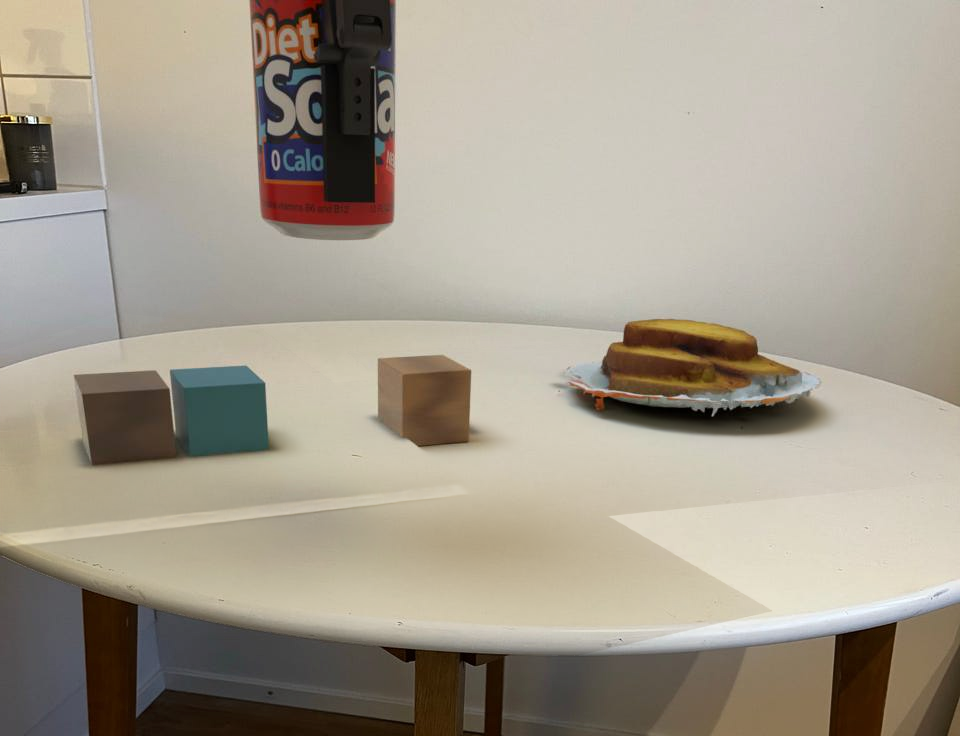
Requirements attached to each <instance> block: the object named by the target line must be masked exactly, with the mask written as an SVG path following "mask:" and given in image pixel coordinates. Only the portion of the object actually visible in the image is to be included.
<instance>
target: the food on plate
mask: <svg viewBox="0 0 960 736" xmlns="http://www.w3.org/2000/svg"><path fill="white" fill-rule="evenodd" d="M571 372H572V373H571ZM563 374H564V375H565V377H566V378H567V380H569V381H568V382H567V384H569V385H570V386H572V387H576V388H578V389H579V391H583V395H585V394H586V393H588V394H592V398H594V397H595V396H596V397H600V398H595V400H596V403H595V404H594V406H595V409H596V410H598V411H601V410H604V409H605V406H604V405H605V404H604V398H606V397H607V398H611V399H614V400H617V401H620V402H623V403H629V404H634V405H635V404H636V405H644V406H650V407H653V408H655V407H659V408H690V409H692V410H693V411H694V412H698V410H700V411H701V412H702V413H705V409H712V412H711V417H714V416H715V414H717V412H718V409H723V410H724V411H726V410H727V409H728V408H729V410H730V411H732V410H733V409H735V408H737V407H741V408H746V407H749V408H750V409H753V407H755V408H756V407H757V408H758V407H759V406H762V405H765V406H771V407H774V405H775V404H776V403H780V402H785V403H787V404H792V403H794V402H795V400H796V399H797V400H799V399H801V398H802V397H805V398H809V397H810V396H811V391H813V390H814V389H818V388H819V387H820V386H821V383H822V381H821V380H820V378H819V377H817V376H816V375H815V374H813V375H812V374H810V373H807V372H805V371H802V370H799V369H797V368H794V367H791V366H788V365H785V364H783V363H780V362H778V361H776V360H772V359H770V358H768V357H765V356H764V355H761V354H759V347H758V341H757V338H756V337H755V336H754V335H752V334H749V333H748V332H747V331H745V330H743V329H740V328H739V329H738V328H735V327H731V326H726V325H722V324H718V323H713V322H711V323H709V322H705V321H697V320H691V319H675V318H652V319H642V320H634V321H633V320H632V321H629V322H627V323H626V324H625V325H624V328H623V337H622V341H618V342H612V343H611V344H609V346H608V348H607V351H606V354H605V355H604V356H603V358H602V360H597V361H593V362H588V363H587V362H586V363H582V364H577V365H574V366H568V367H567V368H566V369H565V372H564V373H563ZM574 374H575V375H576V376H575V375H574ZM577 376H580V378H579V377H577ZM557 392H558V393H560V392H561V390H560V389H559V390H558V391H557ZM741 429H743V426H741Z"/></svg>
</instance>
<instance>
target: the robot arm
mask: <svg viewBox="0 0 960 736" xmlns="http://www.w3.org/2000/svg"><path fill="white" fill-rule="evenodd" d="M321 2H322V16H323V23H324V31H325V39H326V44H323V43H319V46H318V47H317V49H316V51H315V54H314V60H315V62H317V63H330V64H337V66H329V65H321V94H322V137H323V179H324V201H326V202H362V203H375V69H374V68H371V66H375V67H376V66H377V64H378V61H379V57H380V50H381V51H388V50H389V49H390V47H391V41H392V34H391V14H390V0H321Z"/></svg>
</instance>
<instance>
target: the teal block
mask: <svg viewBox="0 0 960 736" xmlns="http://www.w3.org/2000/svg"><path fill="white" fill-rule="evenodd" d="M169 376H170V387H171V388H170V389H171V398H172V405H173V407H172V408H173V416H174V418H173V420H174V426H175V427H174V428H175V429H174V430H175V437H177V439H178V440H179V442H180V443H181V445H182V447H183V448H184V449H185V451H186V452H187V454H188V455H189V457H200V456H211V455H213V456H214V455H223V454H234V453H245V452H246V453H247V452H257V451H268V450H270V444H269V441H270V440H269V425H268V424H269V423H268V405H267V390H266V389H267V388H266V382H265V381H264V380H263V379H262V378H260V377H259V376H258V375H257V374H256V373H255V372H254V371H253V370H252V369H251V368H250V367H249V366H248V365H245V364H244V365H229V366H228V365H227V366H211V367H210V366H209V367H194V368H192V367H191V368H175V369H173V368H172V369H169Z"/></svg>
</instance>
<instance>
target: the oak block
mask: <svg viewBox="0 0 960 736" xmlns="http://www.w3.org/2000/svg"><path fill="white" fill-rule="evenodd" d="M471 389H472V369H470V368H468V367H467V366H465V365H463V364H461V363H459V362H457V361H455V360H453V359H452V358H450V357H448V356H446V355H444V354H431V355H414V356H397V357H396V356H395V357H393V356H392V357H378V358H377V420H378V421H379V422H381V423H382V424H384V425H385V426H386V427H388V428H389V429H390V430H391V431H393V433H395V434H397V435H398V436H399V437H400V438H402V439H407V440H409V442H411V443H412V444H414V445H415V446H417V447H424V446H433V445H435V446H436V445H444V444H445V445H446V444H457V443H467V442H469V440H470V419H471V418H470V417H471V416H470V414H471V395H472V394H471V392H472V391H471Z"/></svg>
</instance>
